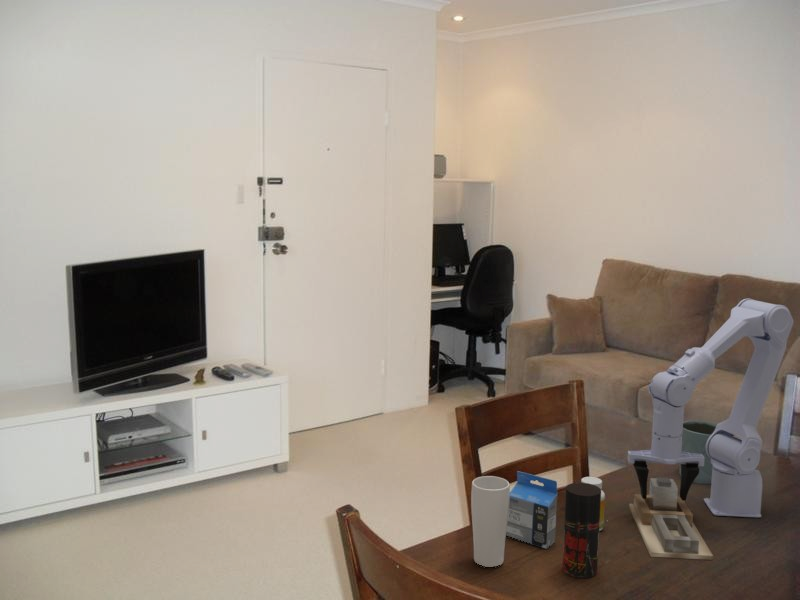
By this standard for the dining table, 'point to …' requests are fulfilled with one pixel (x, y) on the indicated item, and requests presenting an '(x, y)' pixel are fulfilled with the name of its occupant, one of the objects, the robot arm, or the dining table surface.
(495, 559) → the drinking glass
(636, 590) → the dining table surface
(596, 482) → the supplement bottle
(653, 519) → the socket board
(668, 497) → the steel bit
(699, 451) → the green plant pot
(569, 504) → the deodorant
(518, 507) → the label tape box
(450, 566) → the dining table surface
